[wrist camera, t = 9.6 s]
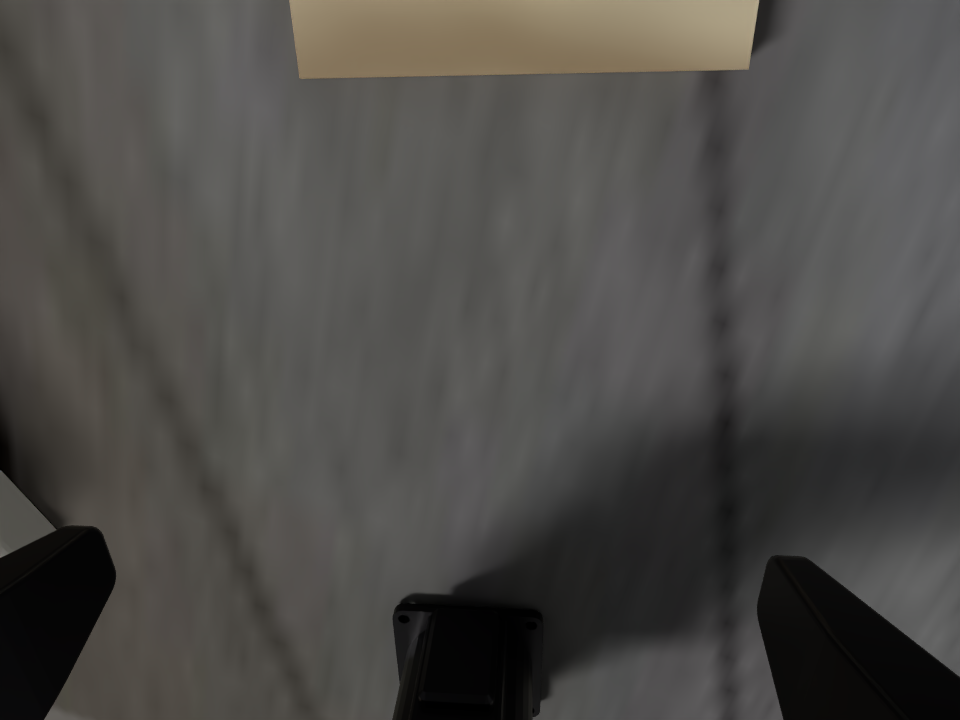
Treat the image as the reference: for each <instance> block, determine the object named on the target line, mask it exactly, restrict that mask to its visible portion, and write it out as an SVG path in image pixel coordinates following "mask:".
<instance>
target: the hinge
mask: <svg viewBox="0 0 960 720" xmlns="http://www.w3.org/2000/svg"><path fill="white" fill-rule="evenodd" d="M55 530H56V529H55V528H54V526H53V525H52V524H51V523H50V522H49V521H48V520H47V519H46V518H45V517H44V516H43V515H42V514H41V513H40V511H39V510H38V509H37V508H36V507H35V506H34V505H33V504H32V503H31V502H30V501H29V500H28V499H27V498H26V497H25V495H24V494H23V493H22V492H21V491H20V490H19V489H18V488H17V487H16V486H15V485H14V484H13V483H12V482H11V481H10V479H9V478H8V477H7V476H6V475H5V474H4V473H3V472H2V471H1V470H0V558H1V557H3V556H5V555H7V554H9V553H11V552H13V551H15V550H17V549H19V548H21V547H23V546H25V545H27V544H29V543H31V542H33V541H35V540H37V539H39V538H41V537H43V536H45V535H47V534H49V533H51V532H53V531H55Z"/></svg>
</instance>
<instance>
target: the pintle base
mask: <svg viewBox="0 0 960 720" xmlns="http://www.w3.org/2000/svg"><path fill="white" fill-rule="evenodd" d="M289 1H290V9H291V16H292V24H293V32H294V39H295V47H296V54H297V62H298V70H299V77H300V79H310V78H362V77H411V76H460V75H509V74H558V73H607V72H656V71H705V70H745V69H749V63H750V57H751V50H752V44H753V37H754V31H755V24H756V18H757V11H758V5H759V0H289Z"/></svg>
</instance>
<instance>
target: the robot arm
mask: <svg viewBox="0 0 960 720" xmlns="http://www.w3.org/2000/svg"><path fill="white" fill-rule="evenodd" d="M115 580H116V570H115V566H114V564H113V561H112V558H111V555H110V553H109V550H108V547H107V544H106V542H105V539H104V536H103V534H102V532H101V531H100V530H99V529H98V528H96V527H93V526H74V525H71V526H65V527H62V528H59V529H57V530H55V531H53V532H51V533H49V534H47V535H45V536H43V537H41V538H39V539H37V540H35V541H33V542H31V543H29V544H27V545H25V546H23V547H21V548H19V549H17V550H15V551H13V552H11V553H9V554H7V555H5V556H3V557H1V558H0V720H44V719H45V717H46V716H47V714H48V712H49V711H50V709H51V707H52V705H53V704H54V702H55V700H56V699H57V697H58V695H59V693H60V691H61V690H62V688H63V686H64V684H65V682H66V680H67V679H68V677H69V675H70V673H71V671H72V669H73V667H74V665H75V663H76V661H77V659H78V657H79V655H80V653H81V651H82V649H83V647H84V645H85V643H86V641H87V639H88V637H89V635H90V633H91V631H92V630H93V628H94V626H95V624H96V622H97V620H98V618H99V616H100V614H101V612H102V610H103V608H104V606H105V604H106V602H107V600H108V598H109V596H110V594H111V592H112V590H113V588H114V585H115ZM404 615H406V616H404ZM757 615H758V621H759V626H760V630H761V633H762V637H763V641H764V645H765V649H766V653H767V657H768V661H769V665H770V669H771V673H772V677H773V681H774V684H775V688H776V692H777V696H778V700H779V704H780V708H781V712H782V716H783V720H960V677H959V676H958V675H956V674H955V673H954V672H953V671H951V670H950V669H949V668H948V667H946V666H945V665H944V664H942V663H941V662H940V661H939V660H937V659H936V658H935V657H933V656H932V655H931V654H930V653H928V652H927V651H926V650H924V649H923V648H922V647H921V646H919V645H918V644H917V643H916V642H914V641H913V640H912V639H910V638H909V637H908V636H907V635H905V634H904V633H903V632H901V631H900V630H899V629H898V628H896V627H895V626H894V625H892V624H891V623H890V622H889V621H887V620H886V619H885V618H884V617H882V616H881V615H880V614H878V613H877V612H876V611H875V610H873V609H872V608H871V607H869V606H868V605H867V604H866V603H864V602H863V601H862V600H861V599H859V598H858V597H857V596H855V595H854V594H853V593H852V592H850V591H849V590H848V589H846V588H845V587H844V586H843V585H841V584H840V583H839V582H837V581H836V580H835V579H834V578H832V577H831V576H830V575H829V574H827V573H826V572H825V571H823V570H822V569H821V568H820V567H818V566H817V565H816V564H814V563H813V562H812V561H810V560H809V559H807V558H805V557H801V556H782V555H776V556H772V557H771V558H770V559H769V560H768V563H767V565H766V569H765V573H764V577H763V582H762V586H761V590H760V594H759V598H758V603H757ZM530 621H532V622H530ZM393 627H394V636H395V645H396V654H397V663H398V672H399V681H400V687H399V691H398V696H397V701H396V705H395V710H394V714H393V719H392V720H532V717H535V716H537V715H538V714H539V712H540V695H541V668H542V641H543V617H542V615H541V614H540V612H538V611H536V610H527V609H507V608H487V607H466V606H446V605H426V604H399V605H397V606H396V608H395V610H394V614H393Z"/></svg>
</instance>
